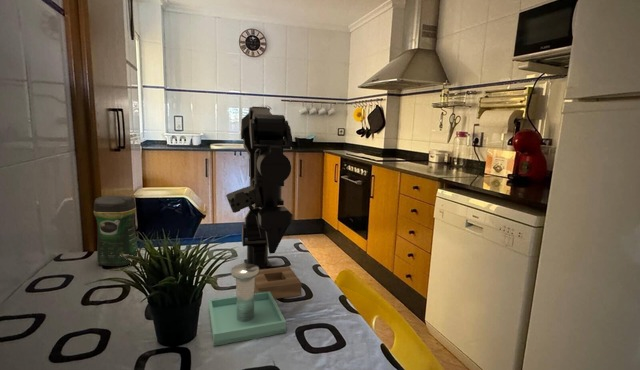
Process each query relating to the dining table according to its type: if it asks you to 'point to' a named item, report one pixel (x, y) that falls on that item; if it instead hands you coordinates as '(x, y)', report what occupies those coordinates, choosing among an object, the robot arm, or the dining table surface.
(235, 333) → the tray
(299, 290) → the block
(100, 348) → the dining table surface
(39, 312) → the dining table surface
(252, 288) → the steel pin
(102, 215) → the coffee jar
